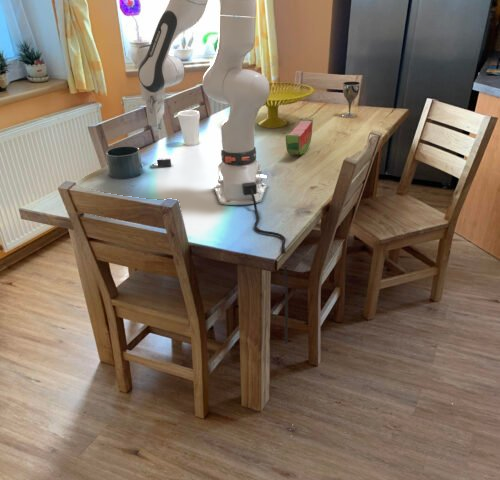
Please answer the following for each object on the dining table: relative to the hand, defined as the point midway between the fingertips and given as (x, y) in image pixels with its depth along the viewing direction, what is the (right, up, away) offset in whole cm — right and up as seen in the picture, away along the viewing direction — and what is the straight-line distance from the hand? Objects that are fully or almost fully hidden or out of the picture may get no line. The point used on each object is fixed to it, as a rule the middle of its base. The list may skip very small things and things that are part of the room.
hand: (158, 132), depth 200 cm
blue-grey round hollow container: (-13, -15, +3) cm, 20 cm away
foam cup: (+9, +7, +32) cm, 34 cm away
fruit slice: (+57, -2, +17) cm, 59 cm away
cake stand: (+47, +25, +53) cm, 75 cm away
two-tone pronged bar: (0, -11, +8) cm, 13 cm away
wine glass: (+86, +32, +60) cm, 109 cm away
